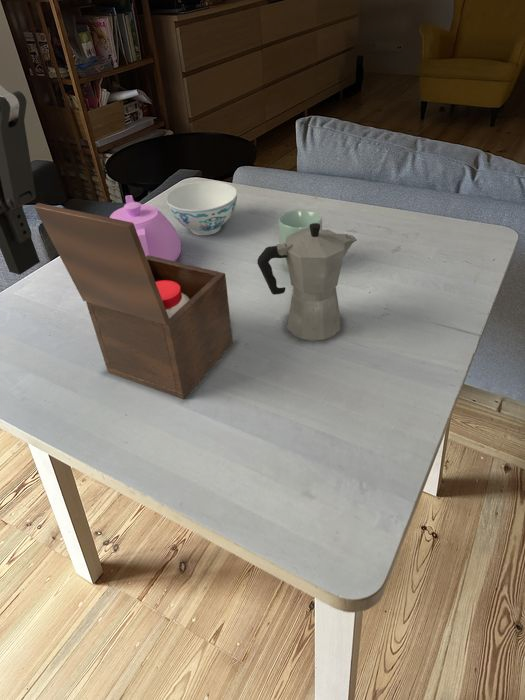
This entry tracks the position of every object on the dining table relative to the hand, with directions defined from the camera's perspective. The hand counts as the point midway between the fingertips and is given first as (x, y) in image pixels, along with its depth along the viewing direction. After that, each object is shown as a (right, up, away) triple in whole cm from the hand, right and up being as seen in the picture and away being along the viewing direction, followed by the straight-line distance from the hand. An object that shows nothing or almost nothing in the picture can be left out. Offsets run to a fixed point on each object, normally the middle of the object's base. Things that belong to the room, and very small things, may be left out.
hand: (24, 266), depth 54 cm
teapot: (0, +9, +54) cm, 54 cm away
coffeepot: (+32, -5, +34) cm, 47 cm away
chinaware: (+12, +18, +64) cm, 67 cm away
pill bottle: (+10, -9, +29) cm, 32 cm away
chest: (+10, -10, +29) cm, 32 cm away
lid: (+5, +2, +11) cm, 12 cm away
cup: (+32, +7, +49) cm, 59 cm away
